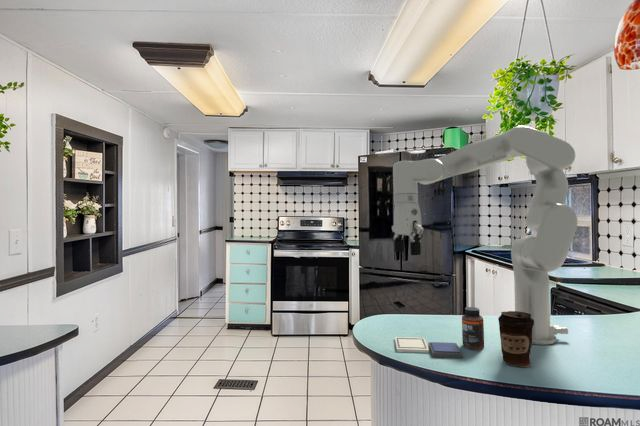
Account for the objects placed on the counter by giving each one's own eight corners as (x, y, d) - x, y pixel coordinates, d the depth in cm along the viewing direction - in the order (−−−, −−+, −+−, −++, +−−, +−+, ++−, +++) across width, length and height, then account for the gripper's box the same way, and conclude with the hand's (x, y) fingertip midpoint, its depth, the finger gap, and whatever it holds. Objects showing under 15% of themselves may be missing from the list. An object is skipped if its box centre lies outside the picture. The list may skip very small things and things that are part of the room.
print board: (424, 340, 113) (424, 337, 113) (429, 352, 104) (429, 349, 104) (394, 339, 115) (394, 336, 115) (396, 351, 105) (396, 348, 105)
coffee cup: (534, 373, 90) (533, 320, 90) (497, 366, 94) (496, 315, 94) (535, 360, 97) (534, 311, 97) (500, 354, 101) (500, 307, 101)
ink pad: (456, 347, 107) (456, 342, 107) (463, 358, 99) (462, 352, 99) (428, 346, 108) (428, 341, 108) (432, 357, 100) (432, 351, 100)
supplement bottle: (480, 343, 110) (479, 305, 110) (487, 350, 104) (486, 311, 104) (459, 342, 111) (459, 305, 111) (465, 350, 105) (465, 311, 105)
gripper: (431, 198, 109) (433, 255, 109) (402, 200, 126) (403, 250, 126) (409, 198, 107) (411, 257, 107) (382, 201, 123) (384, 251, 123)
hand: (407, 253), depth 116 cm, fingers open, 9 cm apart
